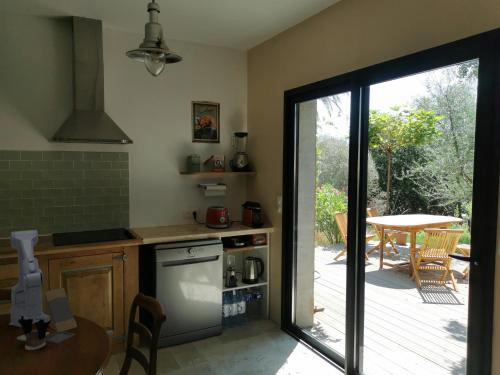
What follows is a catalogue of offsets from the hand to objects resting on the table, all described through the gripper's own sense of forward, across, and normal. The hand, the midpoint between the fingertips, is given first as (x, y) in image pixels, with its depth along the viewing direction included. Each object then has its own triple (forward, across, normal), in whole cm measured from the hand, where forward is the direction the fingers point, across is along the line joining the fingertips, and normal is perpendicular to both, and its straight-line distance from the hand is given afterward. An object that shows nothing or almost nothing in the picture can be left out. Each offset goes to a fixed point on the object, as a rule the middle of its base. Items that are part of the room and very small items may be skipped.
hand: (35, 337), depth 151 cm
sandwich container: (+4, -7, +19) cm, 20 cm away
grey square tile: (+4, +3, +8) cm, 10 cm away
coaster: (+4, 0, 0) cm, 4 cm away
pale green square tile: (+4, -8, +6) cm, 10 cm away
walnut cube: (+3, 0, 0) cm, 3 cm away
